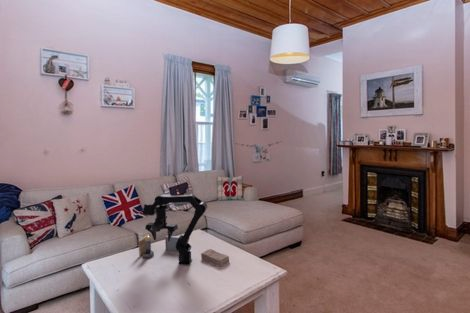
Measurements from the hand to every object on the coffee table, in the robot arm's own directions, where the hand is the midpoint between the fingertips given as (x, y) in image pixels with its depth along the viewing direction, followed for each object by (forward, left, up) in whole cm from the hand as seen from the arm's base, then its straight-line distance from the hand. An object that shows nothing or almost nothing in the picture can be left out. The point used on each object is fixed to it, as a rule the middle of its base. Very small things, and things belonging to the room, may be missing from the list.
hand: (161, 240), depth 170 cm
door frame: (+7, -17, -13) cm, 22 cm away
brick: (-31, -7, -14) cm, 35 cm away
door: (+17, -10, -13) cm, 24 cm away
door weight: (+12, -5, -13) cm, 19 cm away
